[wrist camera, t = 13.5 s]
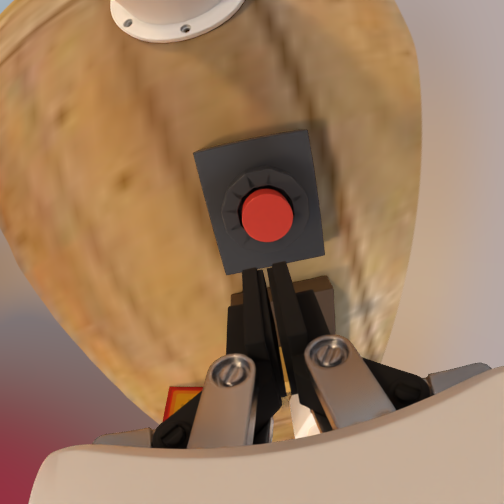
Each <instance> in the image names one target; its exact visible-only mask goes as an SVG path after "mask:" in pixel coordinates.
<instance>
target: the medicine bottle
mask: <svg viewBox="0 0 504 504" xmlns="http://www.w3.org/2000/svg"><path fill="white" fill-rule="evenodd" d="M289 403H290V409H291V416H292V422H293V428H294V435H295V439H297V438H302V437H307V436H312V435H316V434H320V431H319V429H318V427H317V424H316V422H315V420H314V417H313V415H312V411H311V409H309V408H307V407H305V406H303V405H301V404H300V402H299V397H298V394H295V395H292V396H291V398H290V401H289Z"/></svg>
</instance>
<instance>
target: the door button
mask: <svg viewBox="0 0 504 504" xmlns="http://www.w3.org/2000/svg"><path fill="white" fill-rule="evenodd" d="M292 222H293V212H292V209H291V207H290V205H289V203H288V202H287V200H286V198H285V197H284V196H283V195H282V194H281V193H279V192H278V191H276V190H273V189H260V190H257V191H255V192H253V193H251V194H250V195H249V196H248V197H247V198H246V200H245V202H244V204H243V207H242V223H243V227H244V229H245V231H246V232H247V233H248V235H250V236H251V237H252V238H254V239H255V240H258V241H261V242H273V241H276V240H279V239H280V238H282V237H283V236H285V235H286V234H287V232H288V231H289V230H290V228H291V226H292Z"/></svg>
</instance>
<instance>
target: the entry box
mask: <svg viewBox="0 0 504 504" xmlns="http://www.w3.org/2000/svg"><path fill="white" fill-rule="evenodd" d="M193 155H194V159H195V163H196V166H197V170H198V174H199V178H200V182H201V186H202V190H203V193H204V197H205V201H206V205H207V208H208V212H209V216H210V219H211V223H212V227H213V230H214V234H215V238H216V241H217V245H218V248H219V252H220V255H221V259H222V262H223V266H224V269H225V273H226V275H230V274H235V273H240V272H242V270H245V269H249V268H254V267H256V268H257V269H260V268H265V267H270V266H272V264H273V263H278V262H282V261H286V263H290V262H295V261H299V260H304V259H309V258H314V257H318V256H323V255H325V251H324V241H323V232H322V223H321V215H320V207H319V199H318V192H317V185H316V178H315V172H314V165H313V159H312V153H311V147H310V142H309V136H308V131H307V130H295V131H288V132H282V133H276V134H271V135H265V136H260V137H255V138H250V139H245V140H240V141H236V142H231V143H227V144H222V145H218V146H214V147H210V148H206V149H202V150H198V151H196V152H194V153H193ZM260 189H273V190H276V191H278V192H279V193H281V194H282V195H283V196H284V197H285V198H286V200H287V202H288V203H289V205H290V207H291V209H292V212H293V222H292V226H291V228H290V230H289V231H288V232H287V234H286V235H285V236H283V237H282V238H280V239H279V240H276V241H273V242H261V241H258V240H255V239H254V238H252V237H251V236H250V235H248V233H247V232H246V231H245V229H244V227H243V223H242V207H243V204H244V202H245V200H246V198H247V197H248V196H249V195H250V194H251V193H253V192H255V191H257V190H260Z"/></svg>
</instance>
